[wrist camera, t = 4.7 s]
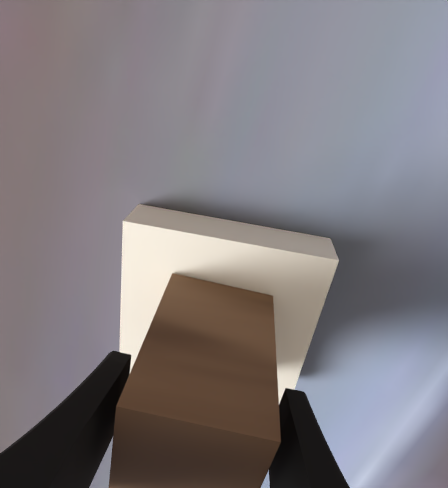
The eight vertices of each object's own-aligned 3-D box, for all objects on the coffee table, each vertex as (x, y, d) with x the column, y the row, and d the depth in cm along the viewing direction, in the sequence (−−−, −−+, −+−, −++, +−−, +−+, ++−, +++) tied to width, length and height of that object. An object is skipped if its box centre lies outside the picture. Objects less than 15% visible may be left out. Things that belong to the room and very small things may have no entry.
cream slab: (284, 368, 19) (287, 408, 16) (135, 339, 19) (118, 376, 17) (328, 232, 15) (338, 260, 13) (143, 198, 15) (122, 221, 13)
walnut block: (249, 368, 16) (243, 526, 10) (160, 348, 16) (107, 497, 10) (273, 295, 14) (280, 442, 8) (171, 273, 14) (116, 406, 8)
